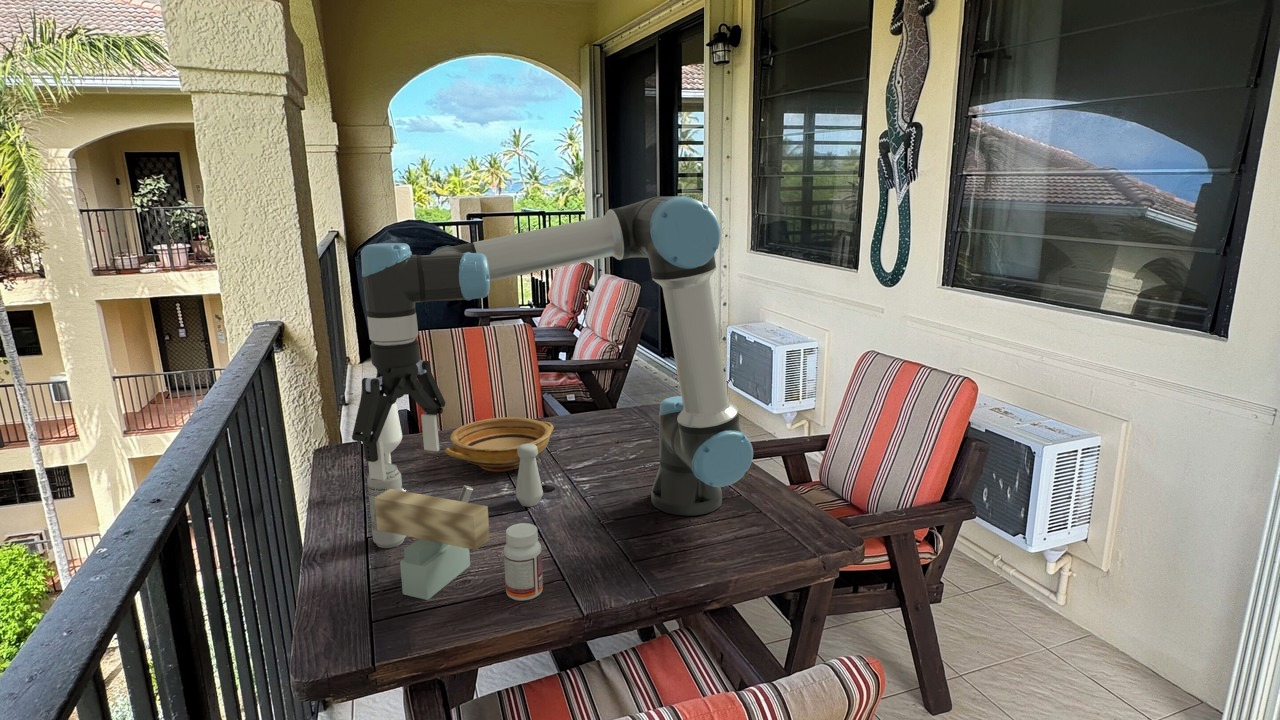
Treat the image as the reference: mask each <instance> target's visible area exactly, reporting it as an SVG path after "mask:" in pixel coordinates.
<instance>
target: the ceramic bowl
mask: <svg viewBox="0 0 1280 720" xmlns="http://www.w3.org/2000/svg"><path fill="white" fill-rule="evenodd" d="M553 431H554V425H553V424H552V423H551V422H549V421H540V420H537V419H533V418H527V417H517V416H515V417H513V416H512V417H510V416H509V417H508V416H507V417H494V418H487V419H485V418H484V419H481V420H477V421H473V422H469V423H466V424H463V425H462V426H460V427H457V428H456V429H455V430H453V432H452V433H451V434H450V436H449V439H450V442H451V443H452V447H447V448H445V450H444V452H445V454H446V455H448V456H451V457H452V458H455V459H461V460H463V461H465V462H468V463H470V464H472V465H477V466H479V467H480V468H481V469H483V470H486V471H490V472H509V471H513V469H514V470H517V469H519V464H520V457H518V453H517V449H518V447H519V446H520V445H523V444H534V445H536V446H537V449H538V455H537V456H536V457H535V458H537V457H539V456H540V455H541V454H542V453H543V452H544V451H545V450H546V449H547V446H548V445H549V441H550V438H551V435H552V433H553ZM508 470H509V471H508Z"/></svg>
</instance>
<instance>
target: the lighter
mask: <svg viewBox="0 0 1280 720" xmlns="http://www.w3.org/2000/svg"><path fill="white" fill-rule="evenodd" d="M473 491H474V489H473V487H471V486H470V485H465V484H464V485H463V486H462V489H461V492H460V494H459V497H458V500H457V501H461V502H467V503H469V501H470V498H471V495H472V494H473Z"/></svg>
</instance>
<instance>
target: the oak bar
mask: <svg viewBox="0 0 1280 720" xmlns="http://www.w3.org/2000/svg"><path fill="white" fill-rule="evenodd" d="M374 500H375V510H376V521H377V530H380V531H385V532H390V533H394V534H399V535H404V536H406V537H409V538H415V539H423V540H428V541H433V542H438V543H443V544H448V545H453V546H457V547H462V548H467V549H469V550H473V551H477V550H478V549H479V548H481V547H482V546H483V545H484V544H486V543H487V542H488V541H490V539H491V538H490V526H489V525H490V524H489V521H490V520H489V508H488V506H487V505H483V504H477V503H471V502H468V503H467V502H461V501H458V500H455V499H451V498H449V499H448V498H444V497H438V496H433V495H427V494H421V493H417V492H416V493H414V492H410V491H407V492H405V491H400V490H394V489H389V490H387V491H385V492H384V493H382V494H380V495H378V496H376V497H375V498H374Z"/></svg>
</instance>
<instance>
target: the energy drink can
mask: <svg viewBox="0 0 1280 720" xmlns="http://www.w3.org/2000/svg"><path fill="white" fill-rule="evenodd" d="M385 467H386V476H387V479H385V480H378V479H372V478H370V473H368V476H367V478H366V481H367V490H368V491H367V492H368V501H369V502H368V503H369V512H370V522H371V532H372V534H371V535H372V541H373V543H374V544H376V546H377V547H378V548H382V549H391V548H395V547H398V546H400V545H402V544H403V542H404V540H405V539H406V537H407V536H404V535H399V534H394V533H390V532H385V531H380V530H377V521H376V510H375V500H374V498H375V497H376V496H378V495H380V494H382V493H384V492H385V491H387V490H389V489H394V490H400V491H402V488H403V481H402V480H403V479H402V473H401V472H400V471H399V470H398V466H397V464H394V463H391V464H390V463H386V462H385Z"/></svg>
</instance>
